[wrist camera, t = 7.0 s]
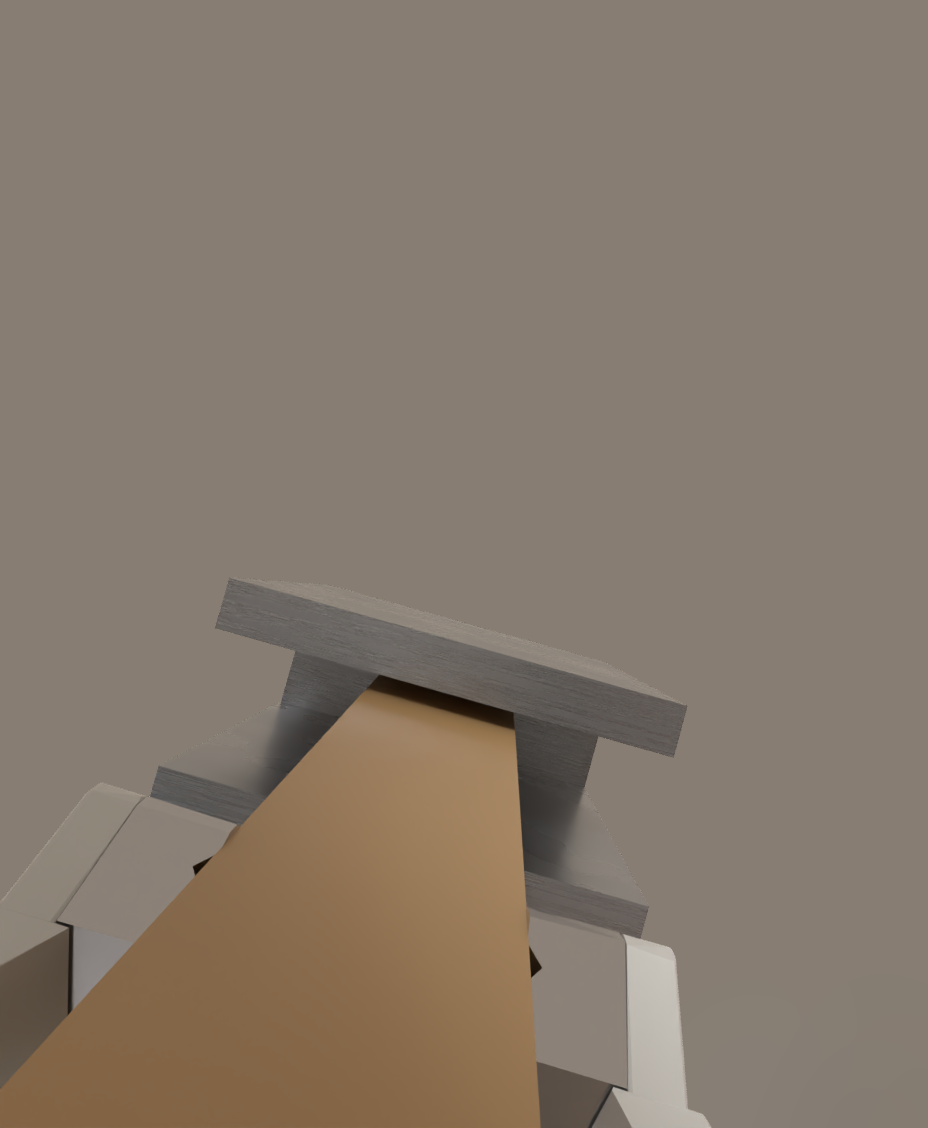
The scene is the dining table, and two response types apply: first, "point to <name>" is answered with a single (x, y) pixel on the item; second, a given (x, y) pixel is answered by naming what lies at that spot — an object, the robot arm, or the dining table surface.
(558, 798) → the dispenser stand
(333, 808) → the brown wooden bar
